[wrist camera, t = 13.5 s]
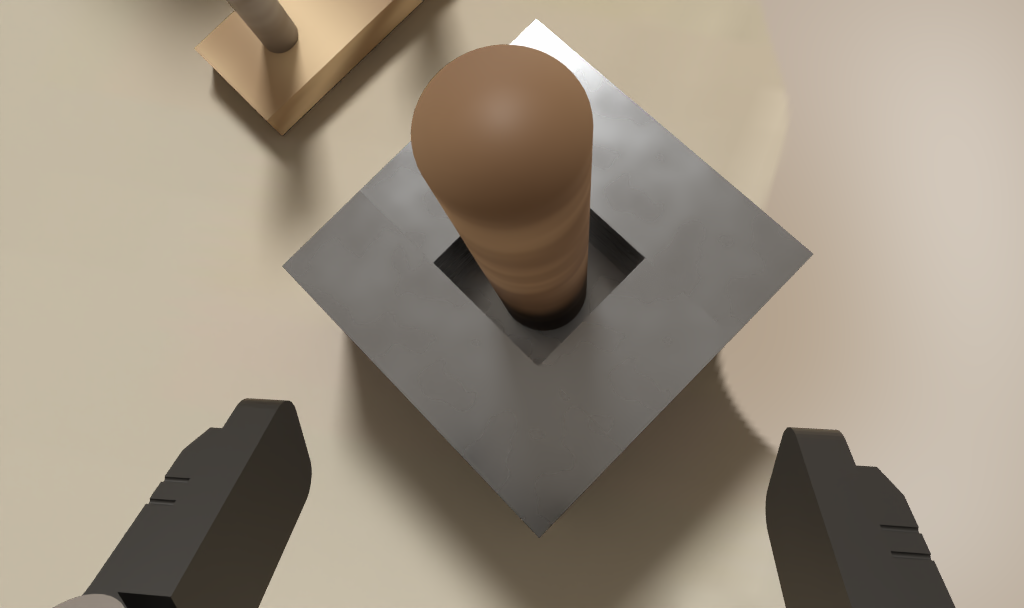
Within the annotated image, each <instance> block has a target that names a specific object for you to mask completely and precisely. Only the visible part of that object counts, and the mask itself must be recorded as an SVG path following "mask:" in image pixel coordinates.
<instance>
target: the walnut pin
mask: <svg viewBox="0 0 1024 608" xmlns="http://www.w3.org/2000/svg"><path fill="white" fill-rule="evenodd" d="M593 126H594V124H593V114H592V109H591V105H590V102H589V99H588V96H587V94H586V92H585V90H584V88H583V86H582V85H581V83H580V81H579V80H578V79H577V77H576V76H575V75H574V74H573V73H572V72H571V71H570V70H569V69H568V68H567V67H566V66H565V65H564V64H563V63H561V62H560V61H559V60H557V59H556V58H554V57H552V56H550V55H549V54H547V53H545V52H542V51H540V50H537V49H534V48H530V47H526V46H520V45H493V46H487V47H483V48H479V49H476V50H473V51H470V52H468V53H466V54H464V55H462V56H460V57H458V58H456V59H455V60H453V61H452V62H450V63H449V64H447V65H446V66H445V67H444V68H442V69H441V70H440V71H439V72H438V73H437V74H436V75H435V76H434V77H433V78H432V80H431V81H430V82H429V83H428V85H427V86H426V88H425V89H424V91H423V93H422V94H421V96H420V98H419V100H418V103H417V105H416V108H415V111H414V115H413V119H412V126H411V145H412V150H413V155H414V158H415V161H416V164H417V167H418V169H419V171H420V173H421V175H422V176H423V178H424V180H425V181H426V183H427V184H428V186H429V188H430V189H431V191H432V192H433V194H434V195H435V197H436V199H437V200H438V202H439V203H440V205H441V206H442V208H443V210H444V211H445V213H446V214H447V216H448V217H449V219H450V221H451V222H452V224H453V225H454V227H455V229H456V230H457V232H458V233H459V235H460V236H461V238H462V240H463V241H464V243H465V244H466V246H467V247H468V249H469V251H470V252H471V254H472V255H473V257H474V258H475V260H476V262H477V263H478V265H479V266H480V268H481V270H482V271H483V273H484V274H485V276H486V277H487V279H488V281H489V282H490V284H491V285H492V287H493V288H494V290H495V292H496V293H497V295H498V296H499V298H500V299H501V301H502V303H503V304H504V306H505V307H506V309H507V310H508V312H509V313H510V315H511V316H512V317H513V318H514V319H515V320H516V321H517V322H518V323H520V324H521V325H523V326H525V327H527V328H530V329H533V330H539V331H548V330H554V329H557V328H560V327H562V326H564V325H566V324H568V323H569V322H571V321H572V320H573V319H574V318H575V317H576V316H577V314H578V313H579V312H580V310H581V308H582V306H583V304H584V301H585V298H586V289H587V266H588V243H589V219H590V196H591V173H592V149H593Z"/></svg>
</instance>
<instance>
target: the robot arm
mask: <svg viewBox="0 0 1024 608" xmlns="http://www.w3.org/2000/svg"><path fill="white" fill-rule="evenodd" d="M311 475H312V469H311V462H310V458H309V454H308V451H307V447H306V444H305V440H304V437H303V433H302V430H301V426H300V423H299V419H298V416H297V412H296V409H295V406H294V405H293V403H292V402H290V401H285V400H267V399H249V398H246V399H244V400H242V401H241V402H240V403H239V404H238V405H237V406H236V408H235V410H234V411H233V413H232V414H231V416H230V417H229V419H228V420H227V422H226V423H225V425H224V427H223V428H209V429H208V430H207V431H206V432H204V433H203V434H202V435H201V436H199V437H198V438H197V439H196V440H195V441H193V442H192V443H191V444H190V445H188V446H187V447H186V448H185V449H183V451H182V452H181V453H180V455H179V456H178V458H177V459H176V461H175V462H174V464H173V465H172V467H171V468H170V470H169V471H168V472H167V474H166V475H165V480H164V482H161V483H160V484H159V486H158V487H157V488H156V490H155V491H154V493H153V494H152V496H151V497H150V502H149V504H146V505H145V506H144V507H143V509H142V510H141V512H140V513H139V515H138V516H137V518H136V519H135V521H134V522H133V524H132V525H131V526H130V528H129V529H128V531H127V532H126V534H125V535H124V537H123V538H122V540H121V541H120V542H119V544H118V545H117V547H116V548H115V550H114V551H113V553H112V554H111V556H110V557H109V559H108V560H107V561H106V563H105V564H104V566H103V567H102V569H101V570H100V572H99V573H98V575H97V576H96V578H95V579H94V580H93V582H92V583H91V585H90V586H89V587H88V589H87V590H86V591H85V593H84V594H83V595H82V596H79V597H75V598H72V599H70V600H67V601H65V602H63V603H61V604H59V605H57V606H55V607H53V608H258V607H259V605H260V603H261V600H262V598H263V596H264V594H265V591H266V589H267V587H268V585H269V582H270V580H271V578H272V576H273V574H274V571H275V569H276V567H277V565H278V562H279V560H280V558H281V556H282V553H283V551H284V549H285V547H286V544H287V542H288V540H289V538H290V535H291V533H292V531H293V529H294V527H295V524H296V522H297V520H298V518H299V515H300V513H301V511H302V509H303V506H304V504H305V502H306V499H307V497H308V494H309V490H310V485H311ZM766 524H767V530H768V534H769V539H770V543H771V547H772V551H773V555H774V560H775V564H776V568H777V572H778V576H779V581H780V585H781V589H782V593H783V597H784V601H785V606H786V608H955V606H954V604H953V602H952V599H951V597H950V595H949V593H948V590H947V588H946V586H945V584H944V582H943V579H942V577H941V575H940V573H939V571H938V568H937V566H936V564H935V562H934V561H932V560H931V558H930V555H931V553H930V551H929V549H928V547H927V545H926V542H925V540H924V538H923V536H922V534H919V532H918V525H917V523H916V521H915V519H914V516H913V514H912V512H911V510H910V508H909V505H908V503H907V501H906V499H905V497H904V495H903V494H902V493H901V492H900V491H899V490H898V489H897V488H896V487H895V486H894V484H892V482H891V481H890V480H889V479H888V478H887V477H886V476H885V475H884V474H883V473H882V472H881V471H880V470H879V469H878V468H877V467H869V466H856V465H855V462H854V460H853V457H852V455H851V452H850V450H849V448H848V445H847V442H846V440H845V438H844V436H843V435H842V433H841V432H840V431H838V430H827V429H809V428H791V427H789V428H787V429H786V430H785V431H784V433H783V436H782V440H781V443H780V447H779V450H778V454H777V458H776V461H775V465H774V468H773V472H772V475H771V479H770V483H769V486H768V490H767V495H766Z"/></svg>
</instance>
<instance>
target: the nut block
mask: <svg viewBox="0 0 1024 608" xmlns="http://www.w3.org/2000/svg"><path fill="white" fill-rule="evenodd" d="M510 45H520V46H526V47H530V48H534V49H537V50H540V51H542V52H545V53H547V54H549V55H550V56H552V57H554V58H556V59H557V60H559V61H560V62H561V63H563V64H564V65H565V66H566V67H567V68H568V69H569V70H570V71H571V72H572V73H573V74H574V75H575V76H576V77H577V79H578V80H579V81H580V83H581V85H582V86H583V88H584V90H585V92H586V94H587V96H588V99H589V102H590V105H591V109H592V114H593V124H594V126H593V149H592V173H591V196H590V219H589V243H588V266H587V289H586V298H585V301H584V304H583V306H582V308H581V310H580V312H579V313H578V314H577V316H576V317H575V318H574V319H573V320H572V321H571V322H569V323H568V324H566V325H564V326H562V327H560V328H557V329H554V330H548V331H539V330H533V329H530V328H527V327H525V326H523V325H521V324H520V323H518V322H517V321H516V320H515V319H514V318H513V317H512V316H511V315H510V313H509V312H508V310H507V309H506V307H505V306H504V304H503V303H502V301H501V299H500V298H499V296H498V295H497V293H496V292H495V290H494V288H493V287H492V285H491V284H490V282H489V281H488V279H487V277H486V276H485V274H484V273H483V271H482V270H481V268H480V266H479V265H478V263H477V262H476V260H475V258H474V257H473V255H472V254H471V252H470V251H469V249H468V247H467V246H466V244H465V243H464V241H463V240H462V238H461V236H460V235H459V233H458V232H457V230H456V229H455V227H454V225H453V224H452V222H451V221H450V219H449V217H448V216H447V214H446V213H445V211H444V210H443V208H442V206H441V205H440V203H439V202H438V200H437V199H436V197H435V195H434V194H433V192H432V191H431V189H430V188H429V186H428V184H427V183H426V181H425V180H424V178H423V176H422V175H421V173H420V171H419V169H418V167H417V164H416V161H415V158H414V155H413V150H412V145H411V141H410V142H409V143H408V144H407V145H406V146H405V147H404V148H403V149H402V150H401V151H400V152H399V153H398V154H397V155H396V156H395V157H394V158H393V159H392V160H391V161H390V162H389V163H388V164H387V165H386V166H385V167H384V168H382V169H381V170H380V171H379V172H378V173H377V174H376V175H375V176H374V177H373V178H372V179H371V180H370V181H369V182H368V183H367V184H366V185H365V186H364V187H363V188H362V189H361V190H360V191H359V192H358V193H357V194H356V195H355V196H354V197H353V198H352V199H351V200H350V201H349V202H348V203H347V204H346V205H344V206H343V207H342V208H341V209H340V210H339V211H338V212H337V213H336V214H335V215H334V216H333V217H332V218H331V219H330V220H329V221H328V222H327V223H326V224H325V225H324V226H323V227H322V228H321V229H320V230H319V231H318V232H317V233H316V234H315V235H314V236H313V237H312V238H311V239H310V240H309V241H308V242H306V243H305V244H304V245H303V246H302V247H301V248H300V249H299V250H298V251H297V252H296V253H295V254H294V255H293V256H292V257H291V258H290V259H289V260H288V261H287V262H286V263H285V264H284V265H283V266H282V267H283V268H284V269H285V270H286V271H287V272H288V273H289V274H290V275H291V276H292V277H293V278H294V279H295V280H296V281H297V282H298V283H299V285H300V286H301V287H302V288H303V289H304V290H305V291H306V292H307V293H308V294H309V295H310V296H311V297H312V298H313V299H314V300H315V301H316V302H317V304H318V305H319V306H320V307H321V308H322V309H323V310H324V311H325V312H326V313H327V314H328V315H329V316H330V317H331V318H332V319H333V320H334V322H335V323H336V324H337V325H338V326H339V327H340V328H341V329H342V330H343V331H344V332H345V333H346V334H347V335H348V336H349V337H350V338H351V340H352V341H353V342H354V343H355V344H356V345H357V346H358V347H359V348H360V349H361V350H362V351H363V352H364V353H365V354H366V355H367V356H368V358H369V359H370V360H371V361H372V362H373V363H374V364H375V365H376V366H377V367H378V368H379V369H380V370H381V371H382V372H383V373H384V374H385V376H386V377H387V378H388V379H389V380H390V381H391V382H392V383H393V384H394V385H395V386H396V387H397V388H398V389H399V390H400V391H401V392H402V393H403V395H404V396H405V397H406V398H407V399H408V400H409V401H410V402H411V403H412V404H413V405H414V406H415V407H416V408H417V409H418V410H419V411H420V413H421V414H422V415H423V416H424V417H425V418H426V419H427V420H428V421H429V422H430V423H431V424H432V425H433V426H434V427H435V428H436V429H437V431H438V432H439V433H440V434H441V435H442V436H443V437H444V438H445V439H446V440H447V441H448V442H449V443H450V444H451V445H452V446H453V447H454V449H455V450H456V451H457V452H458V453H459V454H460V455H461V456H462V457H463V458H464V459H465V460H466V461H467V462H468V463H469V464H470V465H471V466H472V468H473V469H474V470H475V471H476V472H477V473H478V474H479V475H480V476H481V477H482V478H483V479H484V480H485V481H486V482H487V483H488V484H489V486H490V487H491V488H492V489H493V490H494V491H495V492H496V493H497V494H498V495H499V496H500V497H501V498H502V499H503V500H504V501H505V502H506V504H507V505H508V506H509V507H510V508H511V509H512V510H513V511H514V512H515V513H516V514H517V515H518V516H519V517H520V518H521V519H522V520H523V522H524V523H525V524H526V525H527V526H528V527H529V528H530V529H531V530H532V531H533V532H534V533H535V534H536V535H537V536H538V537H539V538H540V537H541V536H542V535H543V534H544V533H545V531H546V530H547V529H548V528H549V527H550V526H551V525H552V524H553V523H554V522H555V521H556V520H557V519H558V518H559V517H560V516H561V515H562V514H563V513H564V512H565V511H566V510H567V509H568V508H569V507H570V506H571V505H572V504H573V502H574V501H575V500H576V499H577V498H578V497H579V496H580V495H581V494H582V493H583V492H584V491H585V490H586V489H587V488H588V487H589V486H590V485H591V484H592V483H593V482H594V481H595V480H596V479H597V478H598V477H599V476H600V475H601V473H602V472H603V471H604V470H605V469H606V468H607V467H608V466H609V465H610V464H611V463H612V462H613V461H614V460H615V459H616V458H617V457H618V456H619V455H620V454H621V453H622V452H623V451H624V450H625V449H626V448H627V447H628V446H629V444H630V443H631V442H632V441H633V440H634V439H635V438H636V437H637V436H638V435H639V434H640V433H641V432H642V431H643V430H644V429H645V428H646V427H647V426H648V425H649V424H650V423H651V422H652V421H653V420H654V419H655V418H656V417H657V416H658V414H659V413H660V412H661V411H662V410H663V409H664V408H665V407H666V406H667V405H668V404H669V403H670V402H671V401H672V400H673V399H674V398H675V397H676V396H677V395H678V394H679V393H680V392H681V391H682V390H683V389H684V388H685V387H686V385H687V384H688V383H689V382H690V381H691V380H692V379H693V378H694V377H695V376H696V375H697V374H698V373H699V372H700V371H701V370H702V369H703V368H704V367H705V366H706V365H707V364H708V363H709V362H710V361H711V360H712V359H713V358H714V356H715V355H716V354H717V353H718V352H719V351H720V350H721V349H722V348H723V347H724V346H725V345H726V344H727V343H728V342H729V341H730V340H731V339H732V338H733V337H734V336H735V335H736V334H737V333H738V332H739V331H740V329H742V327H743V326H744V325H745V324H746V323H747V322H748V321H749V320H750V319H751V318H752V317H753V316H754V315H755V314H756V313H757V312H758V311H759V310H760V309H761V308H762V307H763V306H764V305H765V304H766V303H767V302H768V301H769V299H770V298H771V297H772V296H773V295H774V294H775V293H776V292H777V291H778V290H779V289H780V288H781V287H782V286H783V285H784V284H785V283H786V282H787V281H788V280H789V279H790V278H791V277H792V276H793V275H794V274H795V272H796V271H798V270H799V268H800V267H801V266H802V265H803V264H804V263H805V262H806V261H807V260H808V259H809V258H810V257H811V256H812V255H813V253H812V252H811V251H809V250H808V249H807V248H806V247H805V246H803V245H802V244H801V243H800V242H799V241H798V240H796V239H795V238H794V237H793V236H792V235H790V234H789V233H788V232H787V231H786V230H785V229H783V228H782V227H781V226H780V225H779V224H778V223H776V222H775V221H774V220H773V219H772V218H770V217H769V216H768V215H767V214H766V213H765V212H763V211H762V210H761V209H760V208H759V207H757V206H756V205H755V204H754V203H753V202H752V201H750V200H749V199H748V198H747V197H746V196H744V195H743V194H742V193H741V192H740V191H739V190H737V189H736V188H735V187H734V186H733V185H732V184H730V183H729V182H728V181H727V180H726V179H724V178H723V177H722V176H721V175H720V174H719V173H717V172H716V171H715V170H714V169H713V168H711V167H710V166H709V165H708V164H707V163H706V162H704V161H703V160H702V159H701V158H700V157H698V156H697V155H696V154H695V153H694V152H693V151H691V150H690V149H689V148H688V147H687V146H686V145H684V144H683V143H682V142H681V141H680V140H678V139H677V138H676V137H675V136H674V135H673V134H671V133H670V132H669V131H668V130H667V129H665V128H664V127H663V126H662V125H661V124H660V123H658V122H657V121H656V120H655V119H654V118H652V117H651V116H650V115H649V114H648V113H647V112H645V111H644V110H643V109H642V108H641V107H640V106H638V105H637V104H636V103H635V102H634V101H632V100H631V99H630V98H629V97H628V96H627V95H625V94H624V93H623V92H622V91H621V90H619V89H618V88H617V87H616V86H615V85H614V84H612V83H611V82H610V81H609V80H608V79H606V78H605V77H604V76H603V75H602V74H601V73H599V72H598V71H597V70H596V69H595V68H594V67H592V66H591V65H590V64H589V63H588V62H586V61H585V60H584V59H583V58H582V57H581V56H579V55H578V54H577V53H576V52H575V51H573V50H572V49H571V48H570V47H569V46H568V45H566V44H565V43H564V42H563V41H562V40H560V39H559V38H558V37H557V36H556V35H555V34H553V33H552V32H551V31H550V30H549V29H548V28H546V27H545V26H544V25H543V24H542V23H540V22H539V21H538V20H537V19H536V20H535V21H533V22H532V23H531V24H530V25H529V26H528V27H527V28H526V29H525V30H524V31H523V32H522V33H521V34H520V35H519V36H518V37H517V38H516V39H515V40H514V41H513V42H512V43H511V44H510Z"/></svg>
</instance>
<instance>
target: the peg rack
mask: <svg viewBox="0 0 1024 608" xmlns="http://www.w3.org/2000/svg"><path fill="white" fill-rule="evenodd" d="M227 1H228V3H229V4H230V5H231V6H232V7H233V9H234V10H235V11H234V12H233V13H231V14H230V15H229V16H228V17H227V18H226V19H225V20H224V21H223V22H222V23H221V24H220V25H219V26H218V27H217V28H215V29H214V30H213V31H212V32H211V33H210V34H209V35H208V36H207V37H206V38H205V39H204V40H203V41H202V42H201V43H200V44H198V45H197V46H196V47H195V48H194V49H195V50H196V51H197V52H198V53H199V54H200V55H201V56H202V57H203V58H204V59H205V60H206V61H207V62H208V63H209V64H210V65H211V66H212V67H213V68H214V69H215V70H216V71H217V72H218V73H219V74H220V75H221V76H222V77H223V78H224V79H225V80H226V81H227V82H228V83H229V84H230V85H231V86H232V87H233V88H234V89H235V90H236V91H237V92H238V93H239V94H240V95H241V96H242V97H243V98H244V99H245V100H246V101H247V102H248V103H249V104H250V105H251V106H252V107H253V108H254V109H255V110H256V111H257V112H258V113H259V114H260V115H261V116H262V117H263V118H264V119H265V120H266V121H267V122H268V123H269V124H270V125H271V126H272V127H273V128H274V129H276V130H277V131H278V132H279V133H280V134H281V135H282V136H283V135H284V134H285V133H286V132H287V131H288V130H289V129H290V128H291V127H292V126H293V125H294V124H295V123H296V122H297V121H298V120H299V119H300V118H301V117H302V116H303V115H304V114H305V113H307V112H308V111H309V110H310V109H311V108H312V107H313V106H314V105H315V104H316V103H317V102H318V101H319V100H320V99H321V98H322V97H323V96H324V95H325V94H326V93H327V92H328V91H329V90H331V89H332V88H333V87H334V86H335V85H336V84H337V83H338V82H339V81H340V80H341V79H342V78H343V77H344V76H345V75H346V74H347V73H348V72H349V71H350V70H351V69H352V68H353V67H355V66H356V65H357V64H358V63H359V62H360V61H361V60H362V59H363V58H364V57H365V56H366V55H367V54H368V53H369V52H370V51H371V50H372V49H373V48H374V47H375V46H376V45H377V44H378V43H380V42H381V41H382V40H383V39H384V38H385V37H386V36H387V35H388V34H389V33H390V32H391V31H392V30H393V29H394V28H395V27H396V26H397V25H398V24H399V23H400V22H401V21H402V20H404V19H405V18H406V17H407V16H408V15H409V14H410V13H411V12H412V11H413V10H414V9H415V8H416V7H417V6H418V5H419V4H420V3H421V2H422V1H423V0H227Z"/></svg>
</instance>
